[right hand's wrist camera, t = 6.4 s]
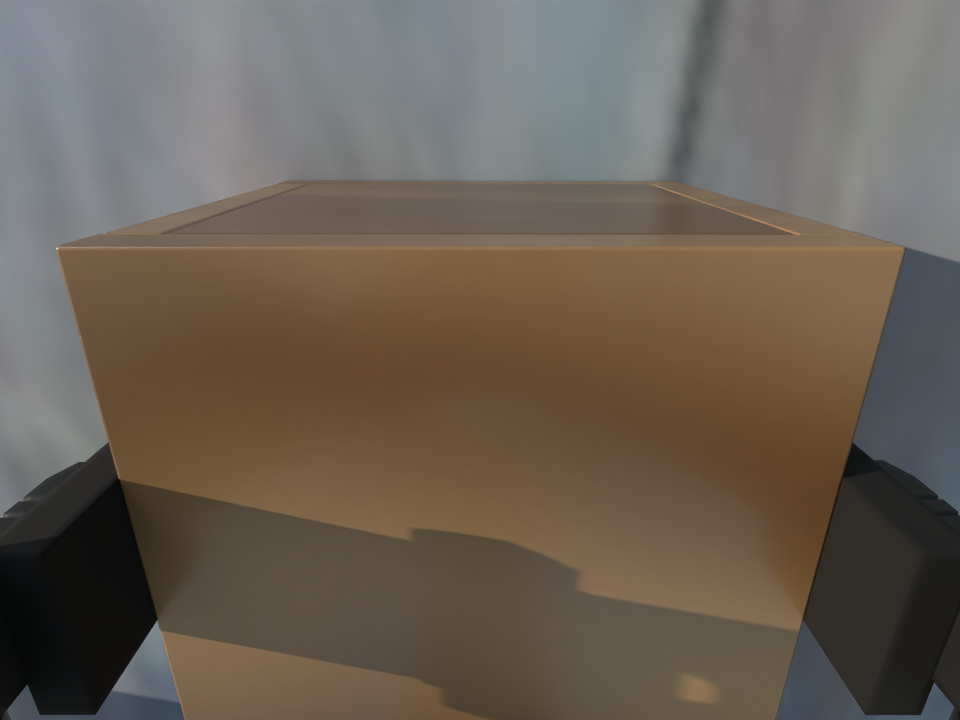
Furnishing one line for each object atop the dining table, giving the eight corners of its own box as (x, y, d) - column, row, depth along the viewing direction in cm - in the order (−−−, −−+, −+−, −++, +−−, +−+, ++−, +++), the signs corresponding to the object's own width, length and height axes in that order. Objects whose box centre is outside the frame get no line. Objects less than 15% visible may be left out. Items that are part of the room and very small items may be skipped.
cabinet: (611, 703, 23) (687, 1040, 15) (348, 703, 23) (271, 1040, 15) (674, 181, 16) (909, 246, 7) (285, 180, 16) (52, 246, 7)
